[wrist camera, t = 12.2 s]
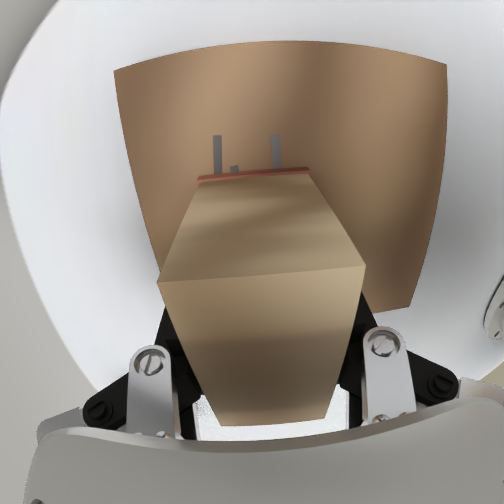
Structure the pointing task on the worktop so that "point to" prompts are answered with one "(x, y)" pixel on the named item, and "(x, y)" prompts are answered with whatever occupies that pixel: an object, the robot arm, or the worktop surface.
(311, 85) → the brown flat square slab
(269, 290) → the block
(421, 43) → the worktop surface
